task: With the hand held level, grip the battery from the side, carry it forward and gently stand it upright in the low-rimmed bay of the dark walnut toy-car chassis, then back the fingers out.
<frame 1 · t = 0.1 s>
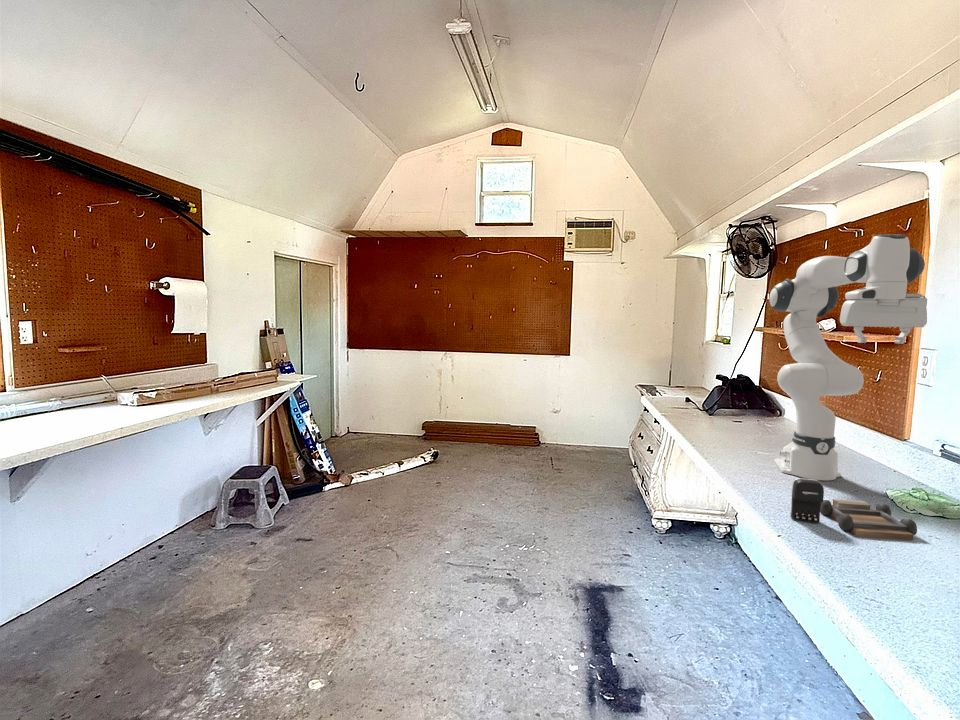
hand: (880, 343, 139), 48 cm above the table, tool pointing down, fingers open, 8 cm apart
battery: (805, 521, 136), on the table
chassis: (864, 524, 134), on the table
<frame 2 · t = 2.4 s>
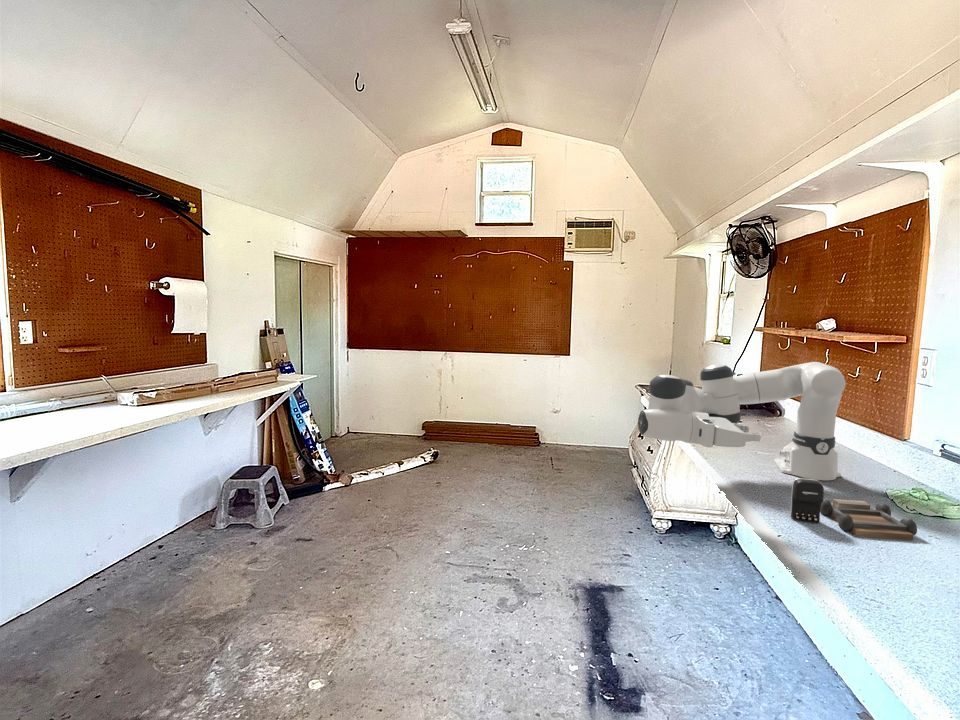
hand: (753, 433, 137), 23 cm above the table, tool horizontal, fingers open, 8 cm apart
nothing on the table moved.
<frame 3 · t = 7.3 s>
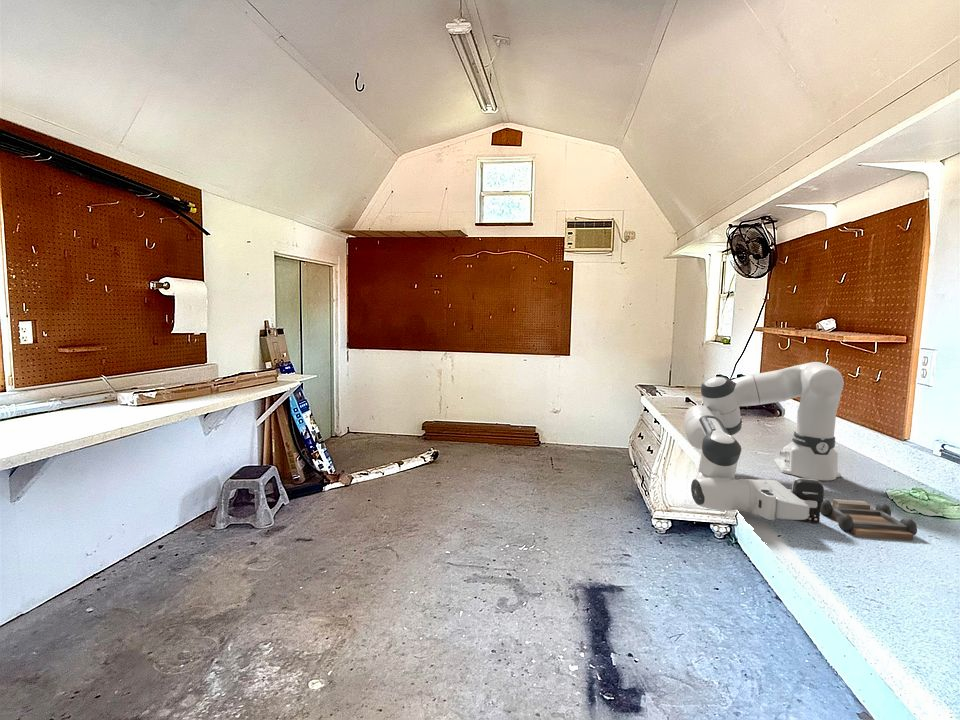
hand: (810, 499, 135), 6 cm above the table, tool horizontal, fingers closed on battery, 4 cm apart
battery: (805, 521, 136), on the table, touching gripper
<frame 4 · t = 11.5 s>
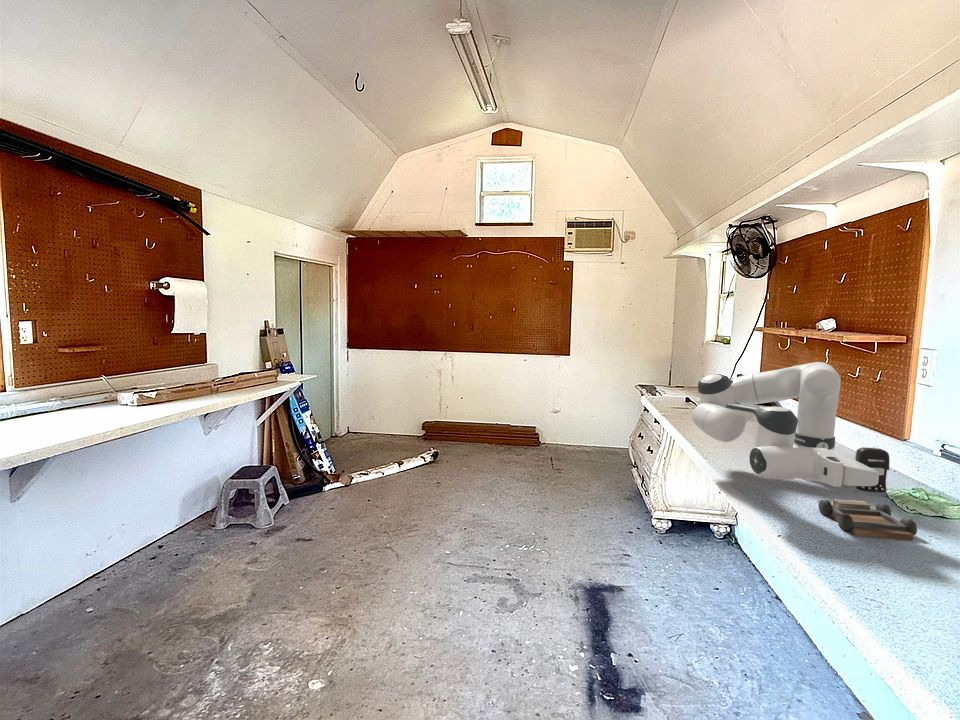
hand: (876, 467, 131), 16 cm above the table, tool horizontal, fingers closed on battery, 4 cm apart
battery: (871, 492, 131), point 9 cm above the table, touching gripper
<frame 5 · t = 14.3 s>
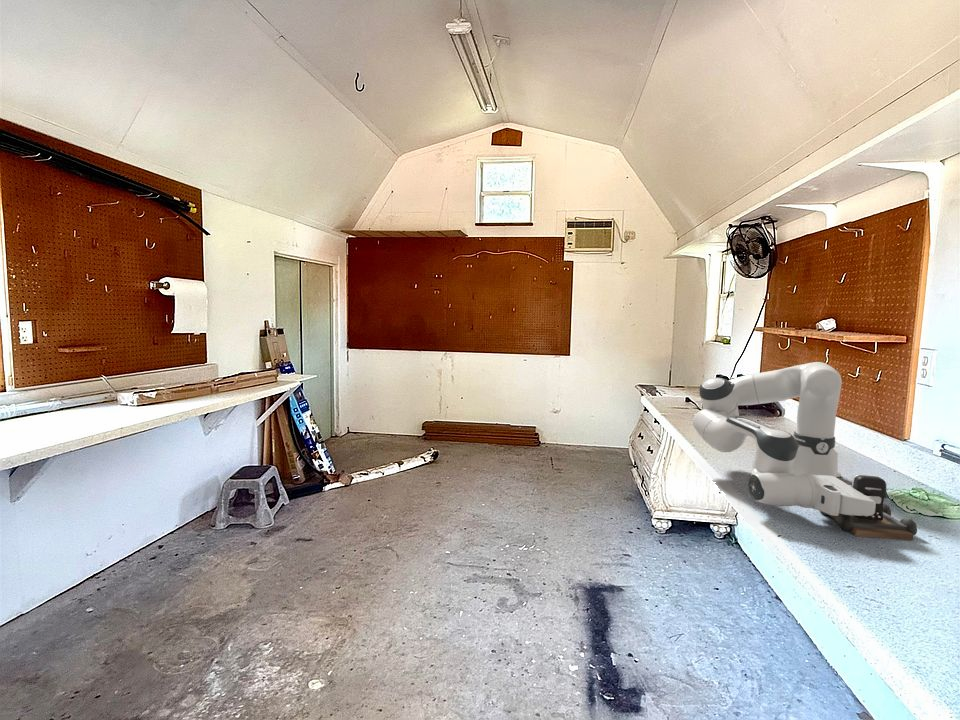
hand: (873, 495, 132), 8 cm above the table, tool horizontal, fingers closed on battery, 4 cm apart
battery: (868, 520, 132), point 2 cm above the table, touching gripper
when the fingers open (8 cm above the table, at t = 14.9 s): battery moves 2 cm, resting on chassis.
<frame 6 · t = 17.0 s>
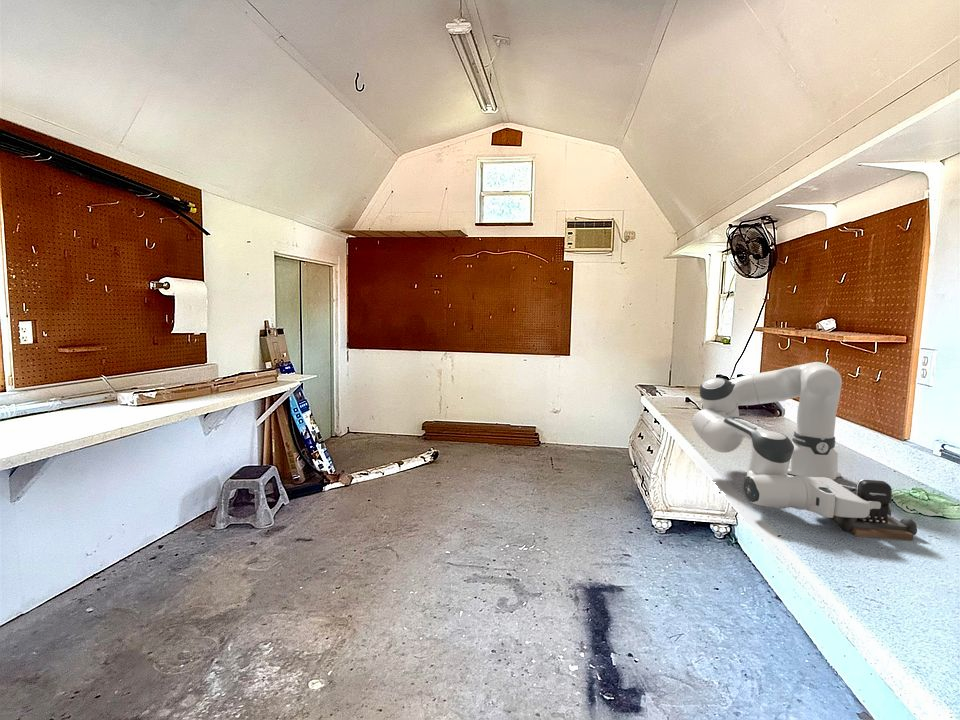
hand: (867, 497, 132), 8 cm above the table, tool horizontal, fingers open, 8 cm apart
battery: (872, 524, 131), point 1 cm above the table, touching chassis, gripper
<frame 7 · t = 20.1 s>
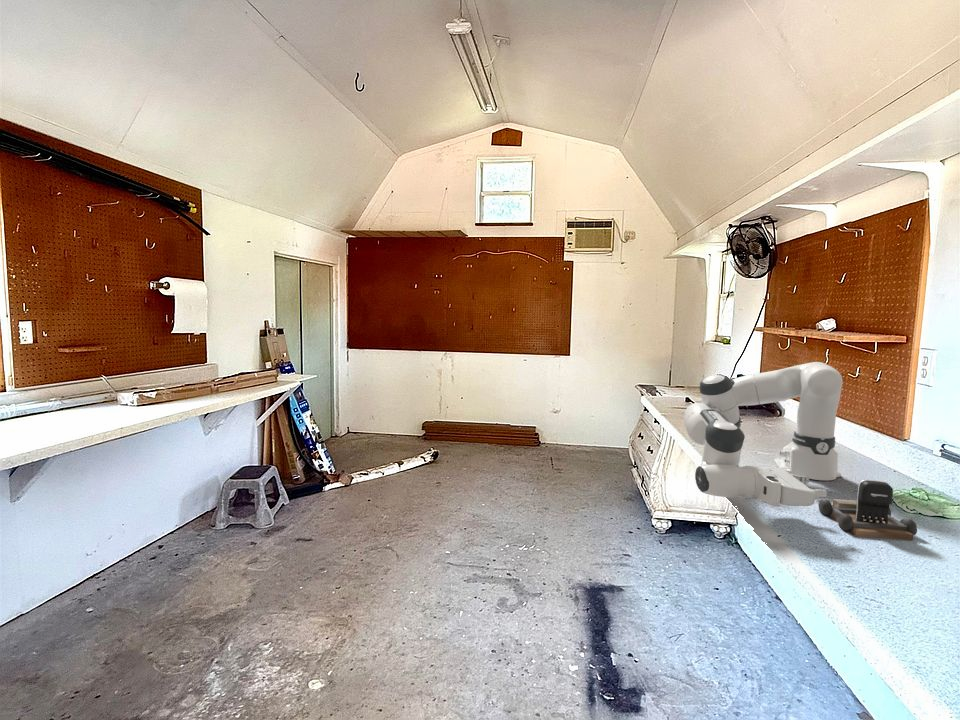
hand: (816, 486, 134), 10 cm above the table, tool horizontal, fingers open, 8 cm apart
battery: (872, 524, 131), point 1 cm above the table, touching chassis
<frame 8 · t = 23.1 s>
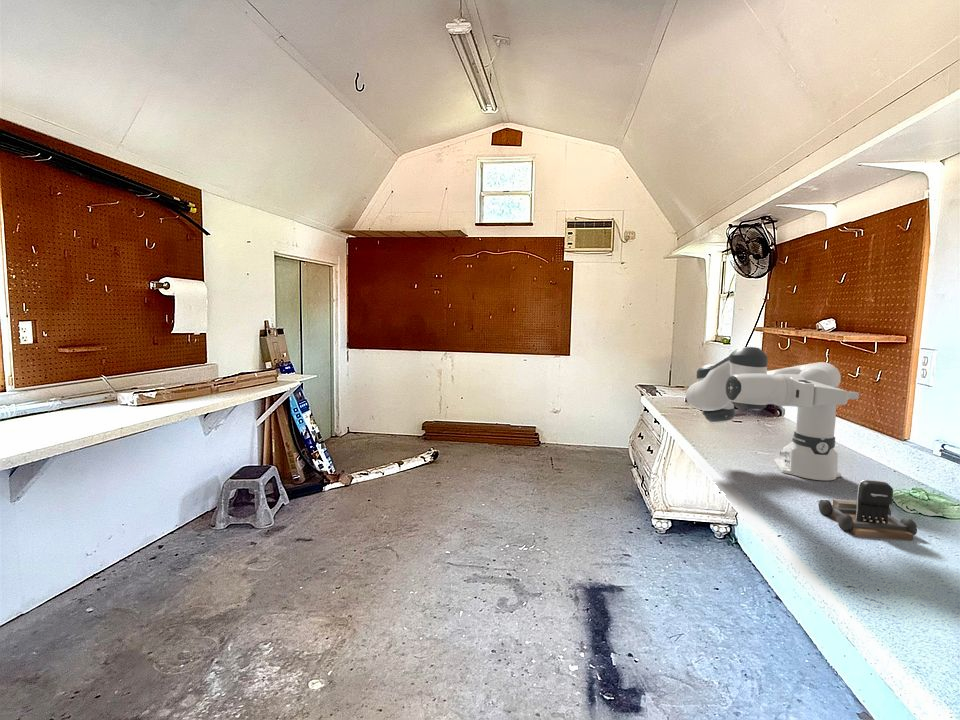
hand: (847, 392, 135), 35 cm above the table, tool horizontal, fingers open, 8 cm apart
nothing on the table moved.
at the end: battery 2.5 cm from the target spot on the chassis, point 1.3 cm above the chassis's base; battery tilted 0°; the gripper is holding nothing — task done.
